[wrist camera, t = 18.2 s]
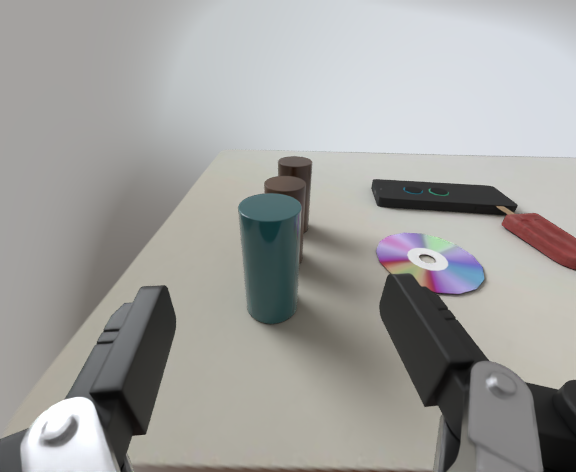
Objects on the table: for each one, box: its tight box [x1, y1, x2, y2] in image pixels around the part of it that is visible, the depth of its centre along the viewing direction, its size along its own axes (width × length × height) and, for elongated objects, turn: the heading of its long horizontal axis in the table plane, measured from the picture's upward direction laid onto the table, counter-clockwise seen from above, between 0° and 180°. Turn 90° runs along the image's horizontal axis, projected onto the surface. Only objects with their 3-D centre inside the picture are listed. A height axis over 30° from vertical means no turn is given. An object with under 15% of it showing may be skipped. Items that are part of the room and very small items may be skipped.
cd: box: [376, 233, 484, 294], centre depth 31 cm, size 11×11×1 cm
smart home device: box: [371, 179, 518, 215], centre depth 45 cm, size 8×2×20 cm
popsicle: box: [496, 206, 576, 269], centre depth 36 cm, size 4×2×15 cm
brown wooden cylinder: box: [264, 176, 306, 264], centre depth 29 cm, size 4×4×9 cm
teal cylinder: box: [238, 193, 302, 324], centre depth 23 cm, size 5×5×10 cm
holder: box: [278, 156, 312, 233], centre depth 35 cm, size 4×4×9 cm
